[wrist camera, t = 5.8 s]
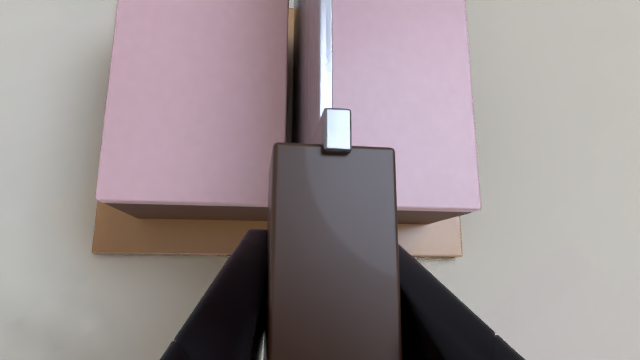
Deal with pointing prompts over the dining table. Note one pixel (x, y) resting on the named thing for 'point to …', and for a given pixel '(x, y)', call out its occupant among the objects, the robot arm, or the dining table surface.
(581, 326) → the dining table surface
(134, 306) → the dining table surface
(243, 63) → the cake
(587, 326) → the dining table surface
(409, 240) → the cake board
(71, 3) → the dining table surface
